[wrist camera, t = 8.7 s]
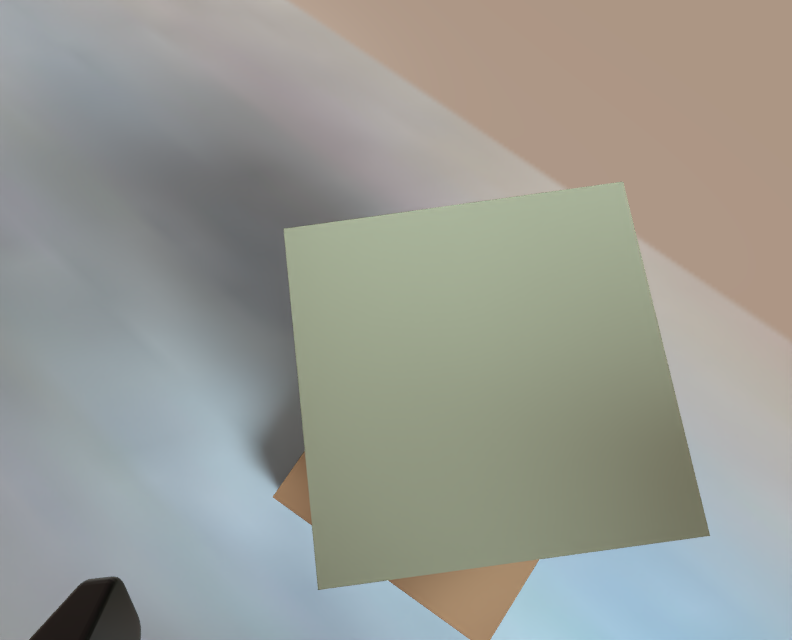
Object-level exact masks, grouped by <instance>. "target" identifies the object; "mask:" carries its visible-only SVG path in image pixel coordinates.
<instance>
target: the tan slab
mask: <svg viewBox="0 0 792 640" xmlns="http://www.w3.org/2000/svg"><path fill="white" fill-rule="evenodd" d="M273 498H275V499H276V500H277V501H279V502H280V503H282V504H283V505H284V506H286V507H287V508H289V509H290V510H291V511H293V512H294V513H295V514H297V515H298V516H300V517H301V518H302V519H304V520H305V521H307V522H308V523H309V524H311V525H312V520H311V510H310V500H309V489H308V479H307V468H306V458H305V451H304V453H303V454H302V455H301V457H300V458H299V460H298V461H297V463H296V464H295V466H294V467H293V468H292V470H291V471H290V473H289V474H288V476H287V477H286V479H285V480H284V481H283V483H282V484H281V486H280V487H279V489H278V490H277V492H276V493H275V494H274V496H273ZM538 561H539V559H538V560H531V561H523V562H516V563H509V564H502V565H494V566H487V567H480V568H473V569H466V570H458V571H451V572H444V573H437V574H429V575H422V576H415V577H408V578H401V579H393V580H388V581H390V582H391V583H392V584H394V585H395V586H397V587H398V588H399V589H401V590H402V591H404V592H405V593H406V594H408V595H409V596H410V597H412V598H413V599H415V600H416V601H417V602H419V603H420V604H422V605H423V606H424V607H426V608H427V609H428V610H430V611H431V612H433V613H434V614H435V615H437V616H438V617H440V618H441V619H442V620H444V621H445V622H446V623H448V624H449V625H451V626H452V627H453V628H455V629H456V630H458V631H459V632H460V633H462V634H463V635H465V636H466V637H467V638H469V639H470V640H490V639H491V637H492V636H493V634H494V633H495V631H496V629H497V628H498V626H499V624H500V623H501V621H502V620H503V618H504V616H505V615H506V613H507V611H508V610H509V608H510V606H511V605H512V603H513V602H514V600H515V598H516V597H517V595H518V593H519V592H520V590H521V588H522V587H523V585H524V584H525V582H526V580H527V579H528V577H529V575H530V574H531V572H532V571H533V569H534V567H535V566H536V564H537V562H538Z"/></svg>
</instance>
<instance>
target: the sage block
mask: <svg viewBox="0 0 792 640" xmlns="http://www.w3.org/2000/svg"><path fill="white" fill-rule="evenodd" d="M284 239H285V249H286V260H287V270H288V281H289V291H290V302H291V312H292V322H293V333H294V343H295V354H296V364H297V374H298V385H299V395H300V406H301V416H302V427H303V437H304V447H305V458H306V468H307V479H308V489H309V500H310V510H311V520H312V531H313V541H314V552H315V562H316V573H317V583H318V590H321V589H328V588H336V587H343V586H350V585H357V584H364V583H372V582H379V581H386V580H393V579H401V578H408V577H415V576H422V575H429V574H437V573H444V572H451V571H458V570H466V569H473V568H480V567H487V566H494V565H502V564H509V563H516V562H523V561H531V560H538V559H545V558H552V557H559V556H567V555H574V554H581V553H588V552H596V551H603V550H610V549H617V548H624V547H632V546H639V545H646V544H653V543H661V542H668V541H675V540H682V539H689V538H697V537H704V536H710V534H709V530H708V526H707V522H706V518H705V514H704V510H703V505H702V501H701V497H700V493H699V489H698V485H697V481H696V477H695V473H694V469H693V465H692V461H691V457H690V452H689V448H688V444H687V440H686V436H685V432H684V428H683V424H682V420H681V416H680V412H679V408H678V404H677V400H676V395H675V391H674V387H673V383H672V379H671V375H670V371H669V367H668V363H667V359H666V355H665V351H664V347H663V342H662V338H661V334H660V330H659V326H658V322H657V318H656V314H655V310H654V306H653V302H652V298H651V294H650V290H649V285H648V281H647V277H646V273H645V269H644V265H643V261H642V257H641V253H640V249H639V245H638V241H637V237H636V232H635V228H634V224H633V220H632V216H631V213H630V209H629V204H628V200H627V196H626V192H625V188H624V184H623V182H617V183H610V184H603V185H596V186H588V187H581V188H575V189H567V190H560V191H552V192H545V193H538V194H531V195H524V196H516V197H509V198H502V199H495V200H487V201H480V202H473V203H466V204H459V205H451V206H444V207H437V208H430V209H423V210H415V211H408V212H401V213H394V214H386V215H379V216H372V217H365V218H358V219H350V220H343V221H336V222H329V223H322V224H314V225H307V226H300V227H293V228H285V229H284Z"/></svg>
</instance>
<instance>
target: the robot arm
mask: <svg viewBox="0 0 792 640" xmlns="http://www.w3.org/2000/svg"><path fill="white" fill-rule="evenodd" d="M140 638H141V626H140V620H139V617H138V614H137V612H136V610H135V608H134V605H133V603H132V601H131V599H130V596H129V594H128V592H127V590H126V587H125V585H124V583H123V582H122V580H121V579H119V578H118V577H104V578H95V579H88V580H86V581H84V582H83V583H81V584H80V585H79V586H78V587H77V588H76V589H75V590H74V591H73V592H72V593H71V594H70V596H69V597H68V598H67V599H66V600H65V601H64V602H63V603H62V604H61V605H60V606H59V608H58V609H57V610H56V611H55V612H54V613H53V614H52V615H51V616H50V617H49V618H48V620H47V621H46V622H45V623H44V624H43V625H42V626H41V627H40V628H39V629H38V630H37V632H36V633H35V634H34V635H33V636H32V637H31V638H30V639H29V640H140Z"/></svg>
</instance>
